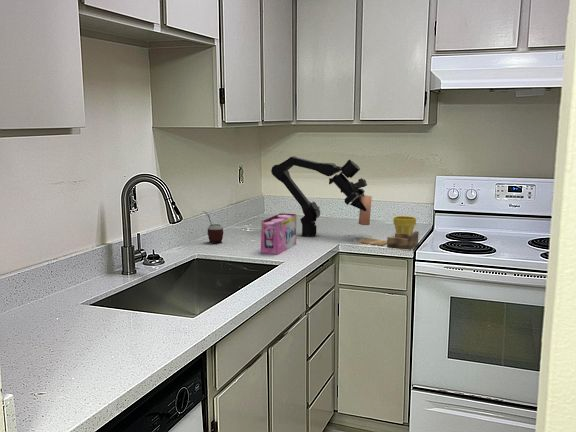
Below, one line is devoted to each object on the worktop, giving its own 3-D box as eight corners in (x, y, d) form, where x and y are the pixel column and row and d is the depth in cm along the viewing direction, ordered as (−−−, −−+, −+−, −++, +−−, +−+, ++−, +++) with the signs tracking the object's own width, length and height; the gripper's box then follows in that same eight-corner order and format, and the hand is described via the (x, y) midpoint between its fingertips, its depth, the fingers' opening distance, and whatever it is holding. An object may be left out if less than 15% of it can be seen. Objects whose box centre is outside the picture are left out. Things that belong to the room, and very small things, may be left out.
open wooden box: (386, 247, 245) (387, 233, 244) (395, 242, 255) (395, 229, 254) (410, 249, 240) (411, 236, 239) (417, 244, 251) (418, 231, 250)
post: (360, 225, 257) (362, 196, 254) (357, 222, 261) (359, 195, 259) (370, 225, 257) (373, 197, 255) (367, 223, 262) (370, 195, 260)
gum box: (276, 255, 228) (276, 222, 226) (258, 254, 231) (258, 221, 229) (296, 244, 250) (297, 213, 248) (280, 242, 253) (280, 212, 251)
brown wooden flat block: (380, 253, 248) (356, 244, 253) (388, 249, 257) (364, 240, 262) (383, 245, 247) (359, 235, 252) (390, 241, 255) (367, 231, 260)
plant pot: (394, 235, 272) (395, 215, 270) (416, 236, 269) (417, 216, 267) (391, 239, 262) (392, 218, 260) (414, 240, 259) (415, 219, 257)
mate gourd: (225, 241, 253) (225, 208, 251) (219, 245, 246) (218, 211, 243) (210, 240, 255) (210, 208, 253) (203, 244, 248) (202, 210, 245)
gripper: (352, 174, 248) (376, 200, 246) (361, 171, 265) (383, 195, 264) (334, 191, 252) (358, 217, 250) (344, 187, 269) (366, 211, 268)
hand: (367, 209), depth 258 cm, fingers closed on post, 5 cm apart
